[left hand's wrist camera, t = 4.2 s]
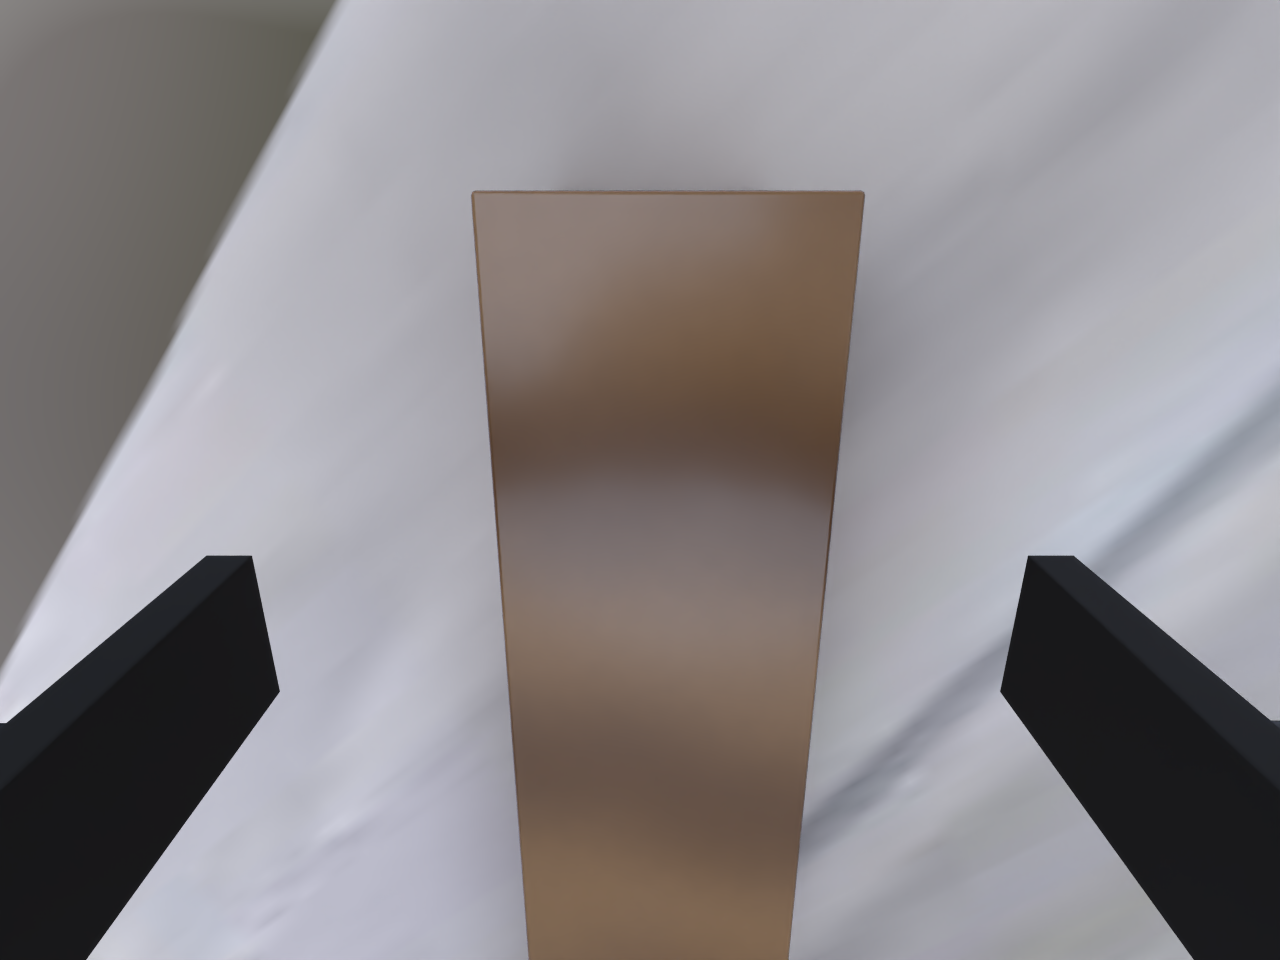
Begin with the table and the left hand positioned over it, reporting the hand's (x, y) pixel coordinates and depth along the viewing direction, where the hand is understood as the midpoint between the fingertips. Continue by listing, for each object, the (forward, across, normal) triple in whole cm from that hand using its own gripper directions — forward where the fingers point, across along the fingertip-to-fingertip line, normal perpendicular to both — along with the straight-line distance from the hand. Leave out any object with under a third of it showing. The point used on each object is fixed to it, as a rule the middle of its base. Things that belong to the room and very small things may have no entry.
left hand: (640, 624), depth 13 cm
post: (+8, 0, -23) cm, 24 cm away
